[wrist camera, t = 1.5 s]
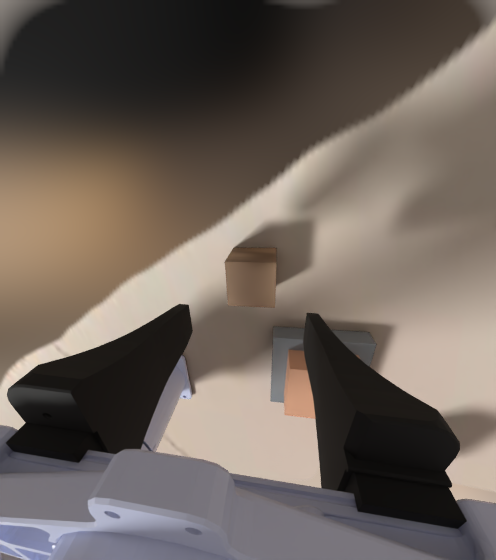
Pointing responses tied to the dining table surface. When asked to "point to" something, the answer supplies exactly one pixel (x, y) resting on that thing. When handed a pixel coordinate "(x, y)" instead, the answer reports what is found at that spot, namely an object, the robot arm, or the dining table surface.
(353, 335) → the slate tile
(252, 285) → the walnut cube
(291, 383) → the terracotta tile
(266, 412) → the dining table surface
